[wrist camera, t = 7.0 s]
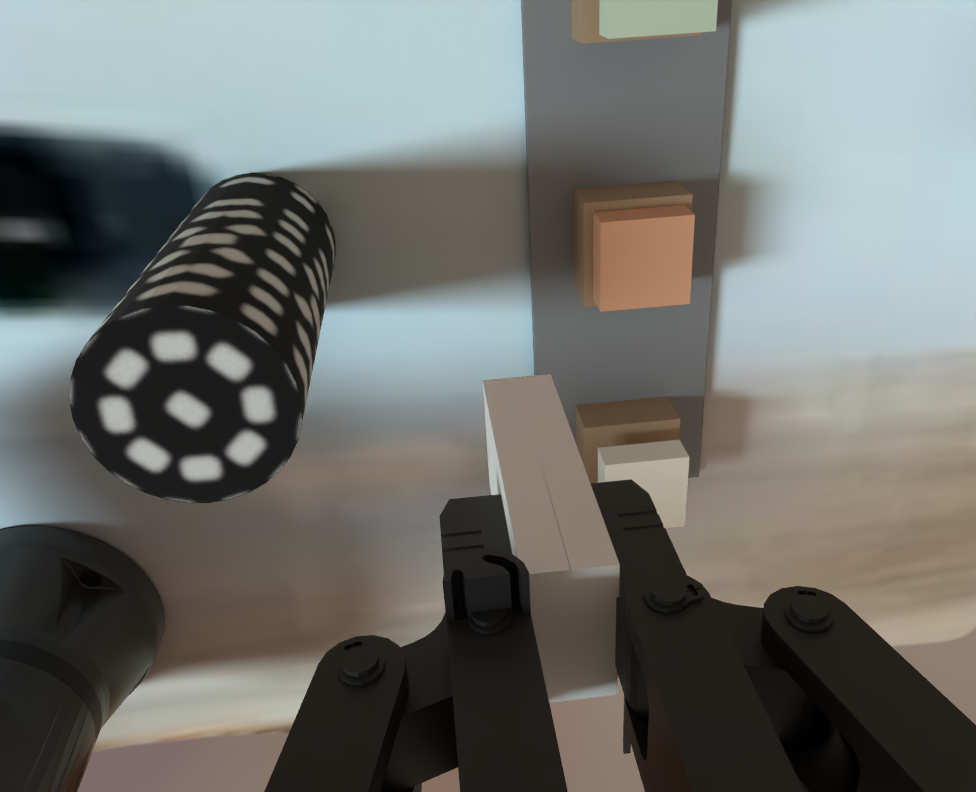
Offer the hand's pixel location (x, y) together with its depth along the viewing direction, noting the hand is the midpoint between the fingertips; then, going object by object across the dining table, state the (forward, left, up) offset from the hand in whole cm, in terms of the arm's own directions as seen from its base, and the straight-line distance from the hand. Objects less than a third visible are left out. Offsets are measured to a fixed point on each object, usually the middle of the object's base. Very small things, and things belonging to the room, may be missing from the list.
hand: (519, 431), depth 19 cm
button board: (+10, -6, -32) cm, 34 cm away
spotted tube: (-11, -5, -33) cm, 35 cm away
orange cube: (+10, -6, -32) cm, 34 cm away
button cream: (+10, -20, -30) cm, 38 cm away
